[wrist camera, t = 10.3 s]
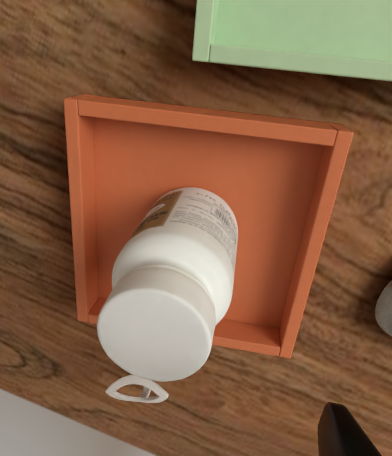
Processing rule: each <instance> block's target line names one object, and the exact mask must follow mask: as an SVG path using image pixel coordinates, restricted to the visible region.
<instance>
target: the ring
mask: <svg viewBox="0 0 392 456" xmlns="http://www.w3.org/2000/svg"><path fill="white" fill-rule="evenodd" d="M129 384H138V385H142V386H144V389H143V392H142V394H141V396H140V397H133V396H127V395H123V394H121V393H118V392H117V391H116V390H117V389H119V388H120V387H122V386H125V385H129ZM150 390H152V391H153V392H155V393H156V394H157V396H155V397H148V396H149V394H150ZM105 392H106V393H107V394H108V395H110V396H111V397H113V398H116V399H120V400H125V401H136V402H148V403H159V402H162V401H164V400H166V399H167V398H168V395H169V394H168V393H167V392H166V391H165V390H164V389H163V388H161V387H160V386H159V385H158V384H157V383H155V382H154V381H152V380H147V379H143V378H140V377H137V376H135V375H133V374H132V375H128V376H125V377H122V378H120V379H118V380H116V381H115V382H113V383H112V384H111V385H110V386H109V387H108V388H107V389H106V391H105Z"/></svg>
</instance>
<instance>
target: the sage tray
mask: <svg viewBox="0 0 392 456" xmlns="http://www.w3.org/2000/svg"><path fill="white" fill-rule="evenodd" d="M192 60H193V61H200V62H210V63H219V64H229V65H238V66H248V67H258V68H267V69H277V70H286V71H296V72H306V73H315V74H325V75H334V76H344V77H353V78H363V79H373V80H382V81H392V0H197V3H196V16H195V28H194V41H193V53H192Z"/></svg>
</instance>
